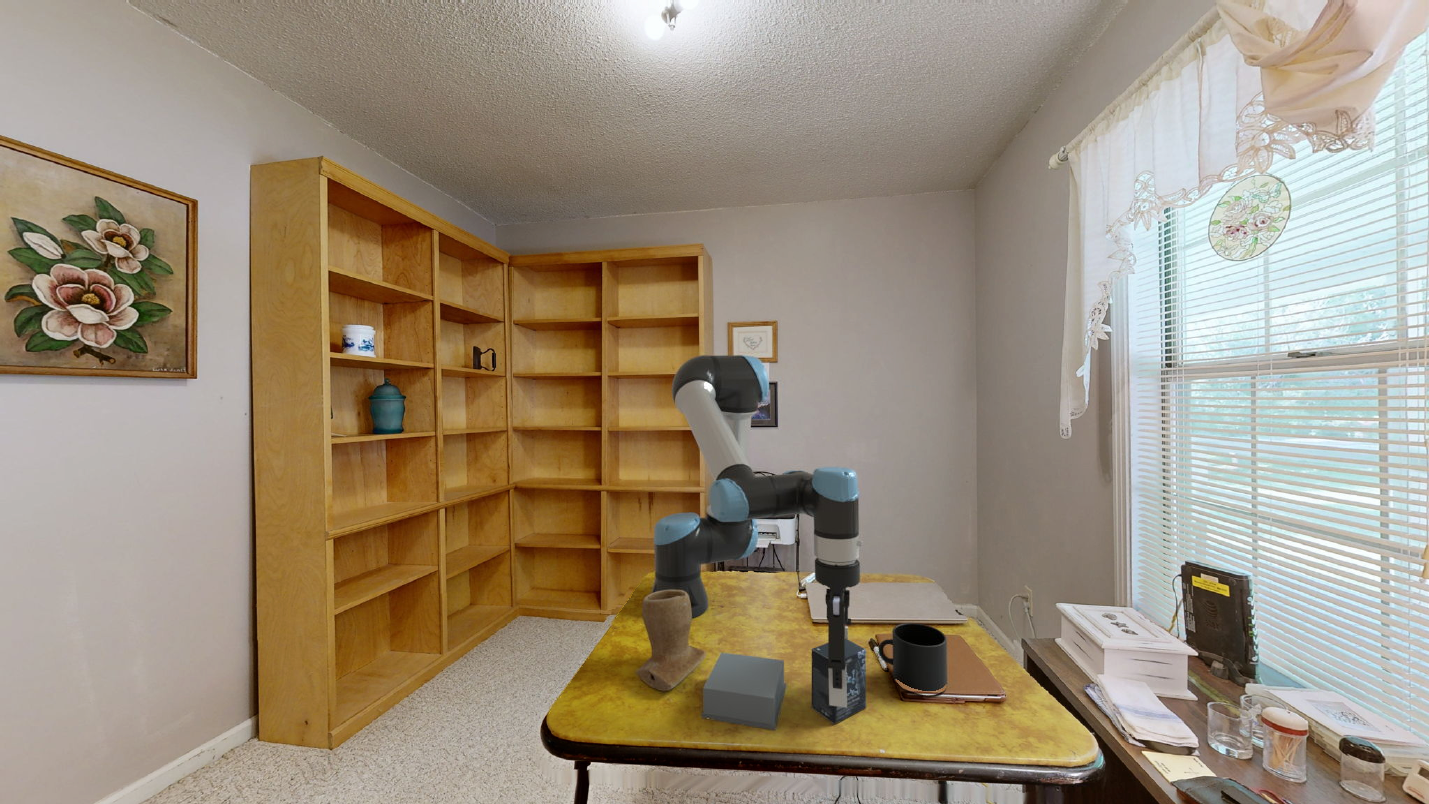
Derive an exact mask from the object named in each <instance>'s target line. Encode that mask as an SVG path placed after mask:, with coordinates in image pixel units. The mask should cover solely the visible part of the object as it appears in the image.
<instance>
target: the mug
mask: <svg viewBox="0 0 1429 804" xmlns="http://www.w3.org/2000/svg"><path fill="white" fill-rule="evenodd" d="M891 633H892V638H890V639H887V638H886V639H884V640H882V641H881V642H880V644H879V646H878V654H879V656H880V658H881V659H882V660H883V661H884V662H886V663H887V664H889V665H891V666H892V677H893V680H894V681H895V679H897V680H899V681H900V682H902V683H903V684H905V685H907V686H909V687H911V688H914V689H918V690H922V691H936V690H939V689H941V688H943V687H944V686H945V685H946V684H947V685H948V639H947V636H946V635H945V633H943V632H942V631H941V630H939V629H938V628H935V627H933V626H930V625H927V624H923V623H916V622H915V623H914V622H905V623H899V624H897V625H895V626H894V627H893V629H892V632H891ZM887 645H891V646H892V657H888V656H887V655H886V653H884V648H885V646H887Z"/></svg>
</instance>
